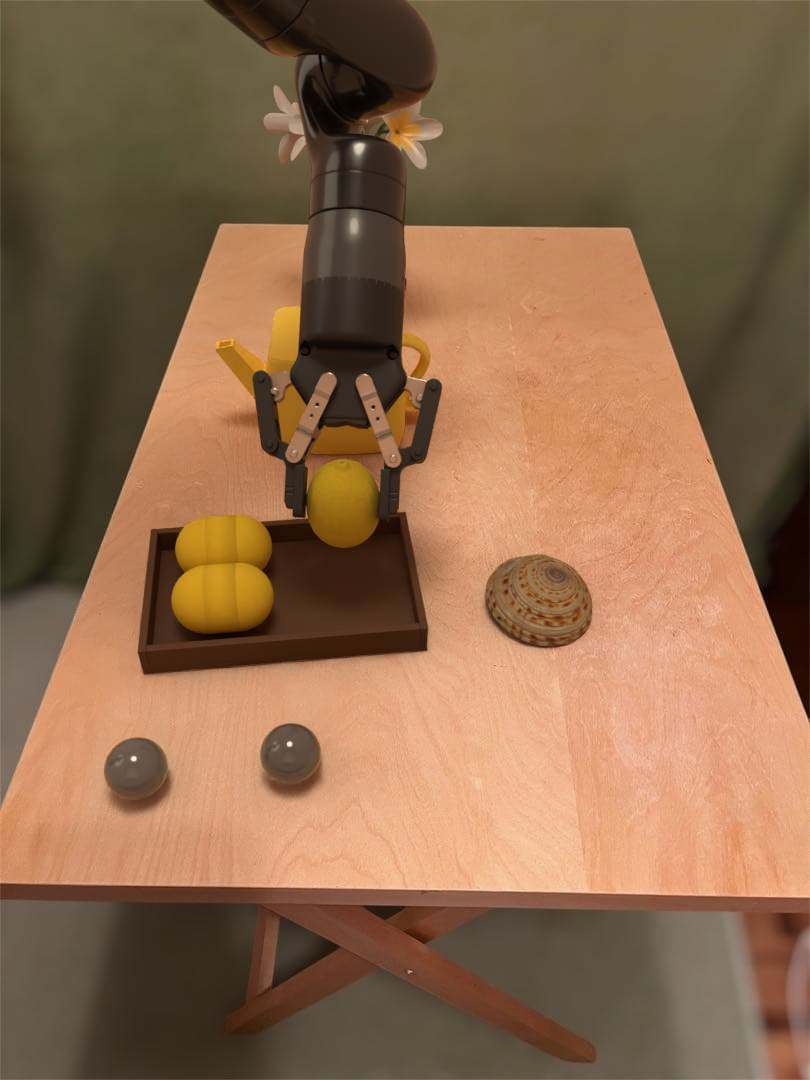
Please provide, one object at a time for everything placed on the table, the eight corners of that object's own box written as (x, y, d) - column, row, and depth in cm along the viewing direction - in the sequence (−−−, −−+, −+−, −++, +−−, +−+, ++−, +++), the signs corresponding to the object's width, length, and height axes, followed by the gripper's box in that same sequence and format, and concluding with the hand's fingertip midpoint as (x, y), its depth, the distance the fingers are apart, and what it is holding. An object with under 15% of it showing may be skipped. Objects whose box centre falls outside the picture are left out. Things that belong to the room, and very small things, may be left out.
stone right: (263, 799, 60) (257, 765, 57) (262, 748, 63) (257, 713, 60) (323, 793, 61) (321, 759, 58) (320, 742, 63) (317, 708, 61)
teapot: (219, 458, 86) (203, 349, 78) (233, 384, 95) (220, 280, 87) (430, 458, 87) (436, 350, 79) (424, 385, 96) (429, 282, 88)
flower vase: (297, 273, 113) (283, 53, 96) (443, 291, 111) (456, 68, 94) (265, 325, 104) (243, 92, 87) (423, 346, 102) (433, 110, 85)
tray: (143, 674, 67) (137, 651, 66) (155, 551, 77) (150, 528, 75) (427, 650, 70) (428, 628, 68) (404, 533, 79) (405, 511, 77)
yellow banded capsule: (178, 597, 72) (168, 550, 69) (181, 552, 76) (172, 505, 72) (275, 590, 73) (270, 543, 70) (273, 545, 77) (268, 499, 73)
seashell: (540, 532, 76) (606, 557, 70) (548, 591, 79) (613, 621, 72) (460, 568, 73) (522, 598, 66) (472, 629, 75) (533, 664, 69)
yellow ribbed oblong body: (175, 651, 68) (164, 604, 65) (178, 600, 72) (168, 553, 69) (277, 642, 69) (271, 595, 66) (275, 593, 73) (270, 546, 69)
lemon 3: (381, 520, 72) (381, 439, 67) (379, 570, 68) (380, 488, 63) (311, 519, 72) (306, 438, 67) (305, 568, 68) (299, 487, 63)
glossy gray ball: (107, 815, 59) (94, 781, 56) (113, 762, 62) (101, 727, 59) (170, 808, 60) (160, 775, 57) (173, 756, 62) (164, 722, 60)
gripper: (245, 267, 63) (232, 512, 62) (453, 276, 63) (441, 522, 62) (264, 298, 70) (252, 517, 70) (450, 307, 70) (439, 526, 70)
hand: (341, 518), depth 66 cm, fingers closed on lemon 3, 5 cm apart
